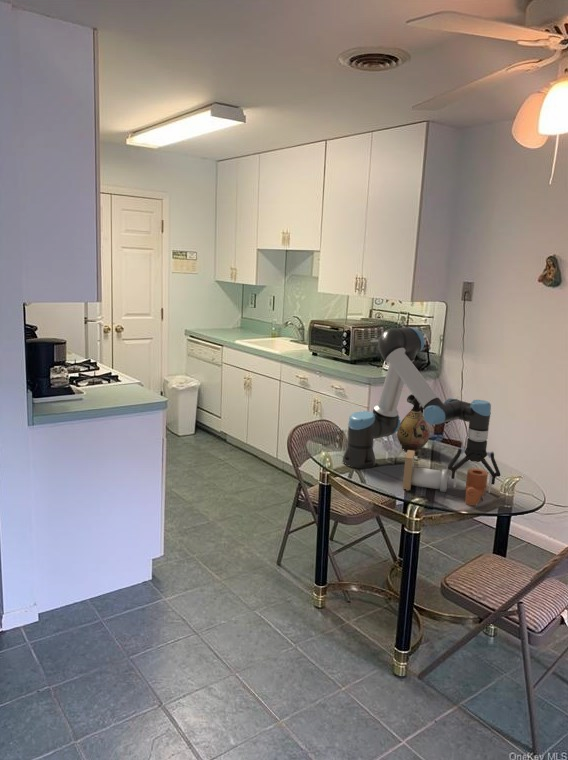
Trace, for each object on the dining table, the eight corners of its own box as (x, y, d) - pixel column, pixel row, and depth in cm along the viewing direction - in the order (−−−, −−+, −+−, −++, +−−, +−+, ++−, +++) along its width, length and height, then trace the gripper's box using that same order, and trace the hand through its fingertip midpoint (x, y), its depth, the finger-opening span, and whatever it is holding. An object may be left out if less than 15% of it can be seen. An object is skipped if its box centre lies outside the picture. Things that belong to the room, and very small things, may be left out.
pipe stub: (402, 489, 237) (405, 457, 234) (405, 480, 247) (407, 449, 244) (445, 496, 233) (449, 463, 230) (446, 486, 242) (449, 455, 239)
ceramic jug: (411, 456, 277) (416, 396, 271) (389, 447, 290) (394, 389, 284) (436, 451, 286) (442, 392, 280) (414, 442, 299) (419, 386, 292)
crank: (467, 467, 242) (487, 470, 240) (465, 485, 244) (485, 488, 242) (467, 484, 223) (489, 488, 221) (465, 503, 225) (486, 507, 223)
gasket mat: (446, 495, 233) (446, 494, 233) (447, 487, 241) (447, 487, 241) (482, 500, 229) (482, 499, 229) (482, 493, 237) (482, 492, 237)
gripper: (444, 437, 229) (439, 487, 234) (511, 445, 222) (504, 497, 227) (445, 432, 236) (440, 480, 241) (510, 440, 229) (503, 490, 234)
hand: (471, 488), depth 234 cm, fingers open, 13 cm apart
